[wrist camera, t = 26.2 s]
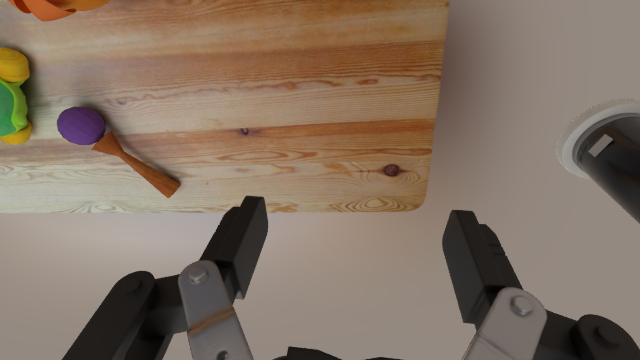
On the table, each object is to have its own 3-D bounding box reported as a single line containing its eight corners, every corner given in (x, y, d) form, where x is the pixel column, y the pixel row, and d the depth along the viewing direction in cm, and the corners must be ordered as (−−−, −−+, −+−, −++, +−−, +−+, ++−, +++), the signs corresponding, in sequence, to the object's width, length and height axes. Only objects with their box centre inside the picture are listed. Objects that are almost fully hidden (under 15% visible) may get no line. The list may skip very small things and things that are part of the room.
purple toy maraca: (157, 207, 55) (42, 132, 46) (175, 184, 59) (72, 110, 50) (172, 198, 52) (51, 114, 42) (190, 174, 56) (82, 92, 46)
